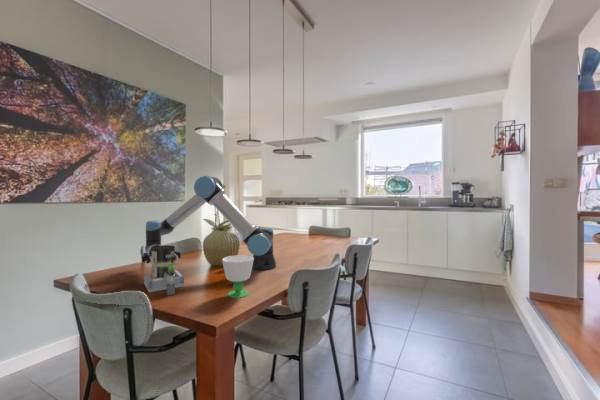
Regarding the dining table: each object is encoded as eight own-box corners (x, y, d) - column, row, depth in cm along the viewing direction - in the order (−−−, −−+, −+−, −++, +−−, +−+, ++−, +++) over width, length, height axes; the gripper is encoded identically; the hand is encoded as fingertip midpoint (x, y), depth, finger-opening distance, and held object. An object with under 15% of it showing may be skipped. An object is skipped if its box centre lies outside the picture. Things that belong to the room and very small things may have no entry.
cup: (224, 301, 121) (224, 263, 120) (219, 291, 133) (219, 256, 133) (257, 297, 126) (257, 260, 126) (249, 287, 139) (249, 254, 138)
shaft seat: (144, 283, 144) (143, 269, 143) (176, 278, 152) (176, 265, 152) (152, 298, 124) (152, 282, 124) (189, 291, 133) (188, 276, 133)
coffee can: (179, 273, 146) (179, 245, 145) (166, 280, 136) (165, 249, 135) (161, 272, 148) (160, 244, 147) (146, 278, 138) (146, 248, 137)
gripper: (179, 256, 163) (190, 264, 145) (132, 261, 150) (137, 271, 132) (179, 242, 163) (190, 249, 144) (132, 247, 150) (137, 255, 131)
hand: (165, 260), depth 138 cm, fingers closed on coffee can, 10 cm apart
